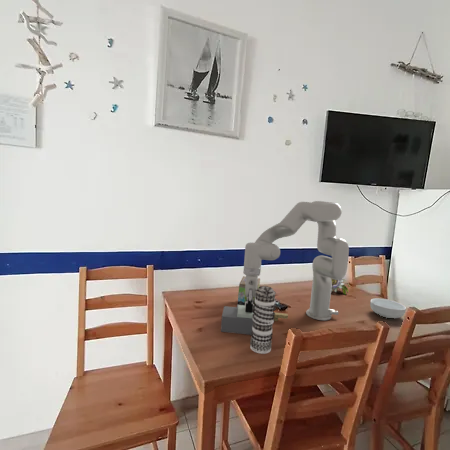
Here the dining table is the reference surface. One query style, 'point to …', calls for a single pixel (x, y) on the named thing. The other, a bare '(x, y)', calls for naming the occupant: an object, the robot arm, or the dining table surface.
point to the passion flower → (339, 285)
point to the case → (235, 322)
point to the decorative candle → (263, 320)
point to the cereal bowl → (387, 308)
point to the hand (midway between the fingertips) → (248, 309)
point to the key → (280, 316)
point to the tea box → (241, 293)
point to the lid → (242, 312)
